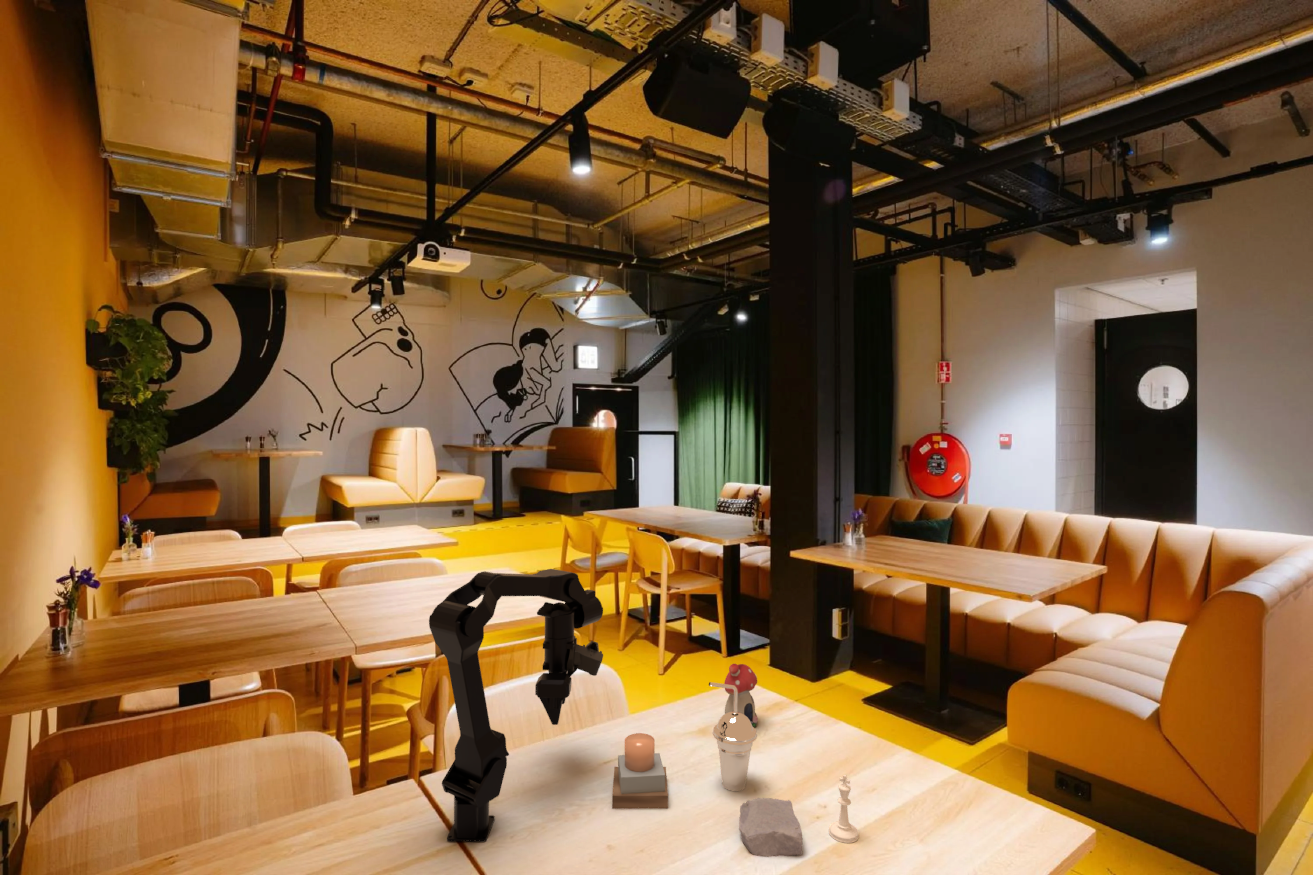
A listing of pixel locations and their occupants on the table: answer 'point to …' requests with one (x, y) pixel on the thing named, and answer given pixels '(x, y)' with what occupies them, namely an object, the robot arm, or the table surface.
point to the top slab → (641, 777)
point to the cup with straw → (734, 744)
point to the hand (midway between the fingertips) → (558, 713)
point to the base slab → (638, 797)
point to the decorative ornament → (741, 691)
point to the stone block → (770, 828)
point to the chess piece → (844, 817)
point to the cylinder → (639, 752)
